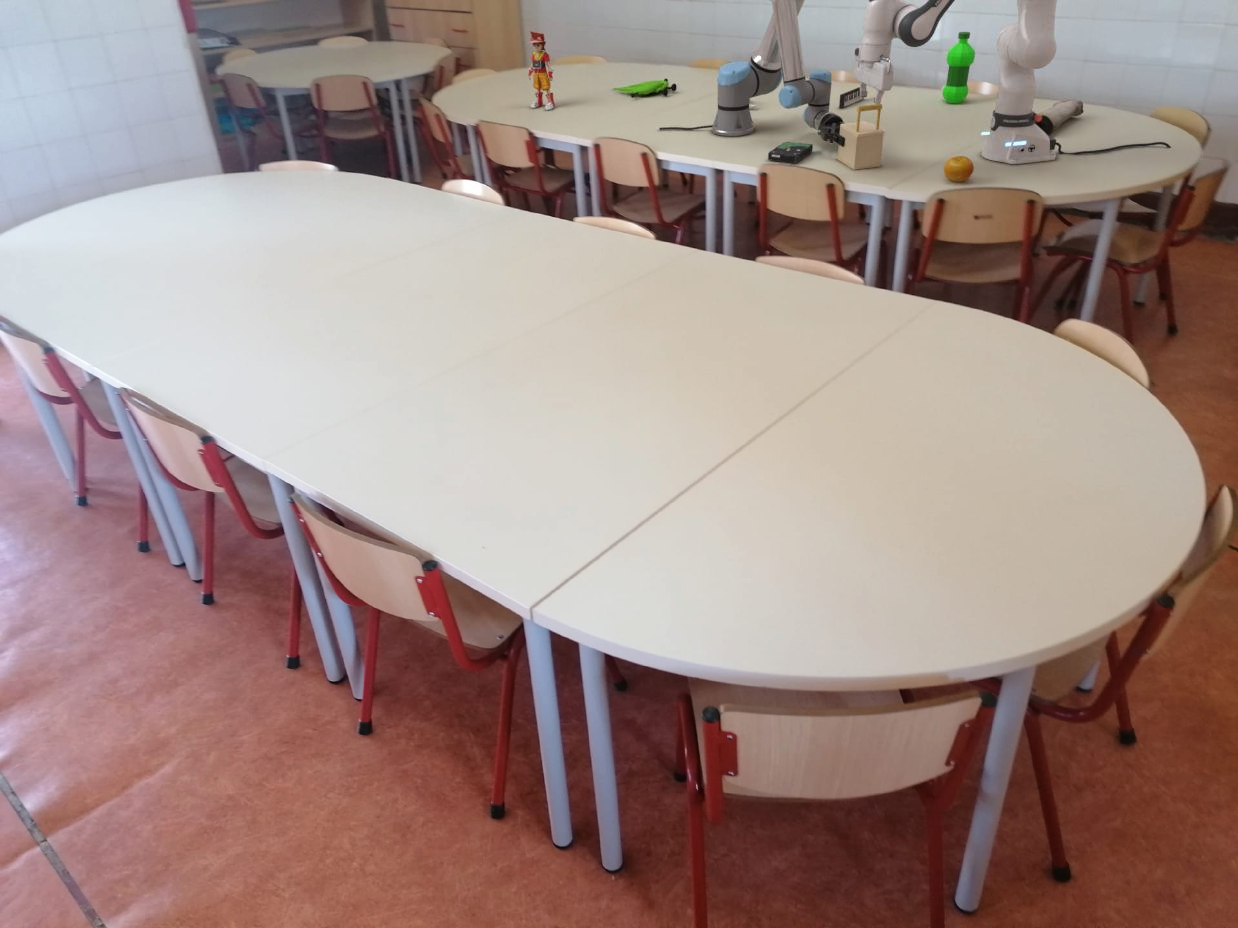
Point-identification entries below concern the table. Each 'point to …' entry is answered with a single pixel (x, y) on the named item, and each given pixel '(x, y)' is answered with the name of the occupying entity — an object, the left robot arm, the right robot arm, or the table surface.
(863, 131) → the lid
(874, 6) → the right robot arm
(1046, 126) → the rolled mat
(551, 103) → the toy
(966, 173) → the fruit
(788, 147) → the disk drive
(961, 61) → the plastic bottle
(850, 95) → the midi keyboard
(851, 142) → the chest
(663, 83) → the toy
